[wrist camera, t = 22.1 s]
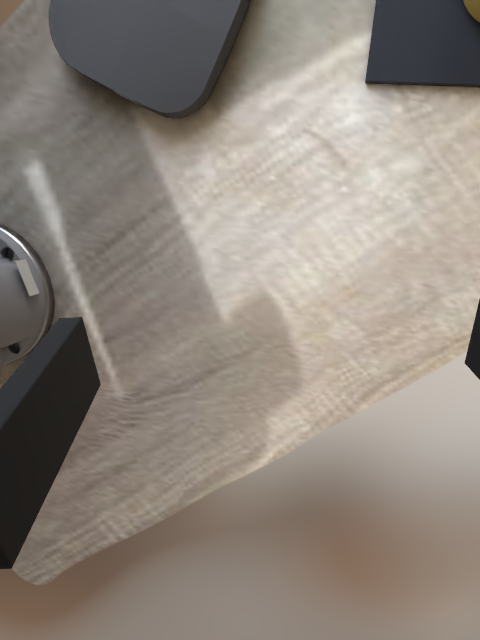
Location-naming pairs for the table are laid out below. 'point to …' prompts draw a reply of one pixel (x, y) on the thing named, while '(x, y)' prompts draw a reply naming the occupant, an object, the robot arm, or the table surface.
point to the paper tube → (473, 8)
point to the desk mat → (424, 44)
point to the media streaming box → (149, 47)
